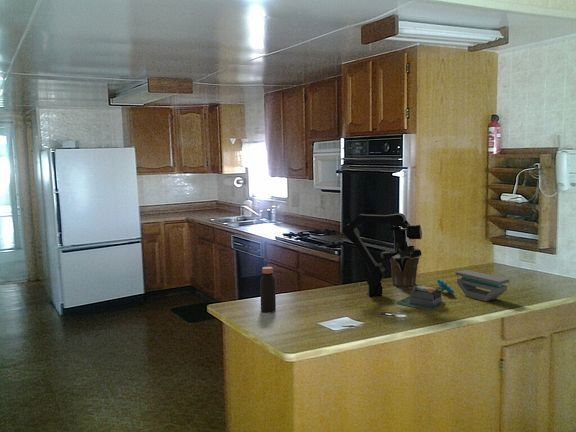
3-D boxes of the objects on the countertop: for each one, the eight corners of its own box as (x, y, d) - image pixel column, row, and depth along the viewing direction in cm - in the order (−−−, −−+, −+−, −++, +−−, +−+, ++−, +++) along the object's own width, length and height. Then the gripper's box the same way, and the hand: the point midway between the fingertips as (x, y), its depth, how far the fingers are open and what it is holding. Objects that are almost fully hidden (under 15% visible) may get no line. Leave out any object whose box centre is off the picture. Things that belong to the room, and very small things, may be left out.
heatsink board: (396, 303, 252) (396, 285, 251) (410, 297, 263) (410, 280, 262) (432, 310, 241) (432, 291, 239) (445, 303, 251) (445, 285, 250)
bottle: (258, 309, 246) (258, 266, 244) (272, 308, 248) (272, 265, 246) (263, 313, 240) (262, 269, 237) (277, 312, 242) (277, 268, 240)
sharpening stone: (508, 301, 253) (509, 279, 251) (498, 304, 248) (498, 281, 247) (465, 290, 274) (466, 269, 272) (455, 293, 269) (455, 271, 268)
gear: (458, 293, 263) (443, 279, 262) (450, 302, 263) (435, 288, 262) (448, 290, 274) (434, 277, 273) (441, 299, 274) (427, 285, 273)
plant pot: (425, 283, 289) (425, 254, 287) (410, 289, 277) (410, 259, 275) (398, 279, 300) (398, 251, 298) (383, 285, 288) (383, 255, 286)
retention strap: (414, 289, 251) (414, 286, 251) (417, 288, 254) (417, 285, 253) (433, 292, 245) (433, 289, 245) (436, 291, 247) (436, 288, 247)
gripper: (386, 243, 250) (388, 276, 252) (424, 239, 252) (426, 272, 254) (379, 240, 261) (381, 272, 263) (416, 237, 263) (418, 268, 265)
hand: (401, 271), depth 261 cm, fingers closed
